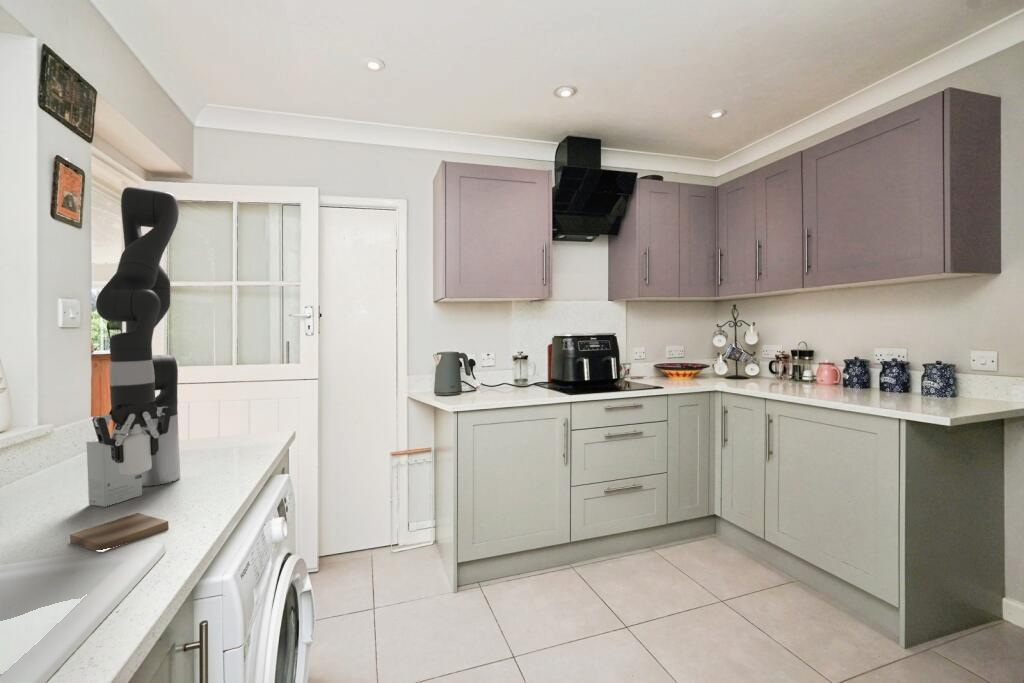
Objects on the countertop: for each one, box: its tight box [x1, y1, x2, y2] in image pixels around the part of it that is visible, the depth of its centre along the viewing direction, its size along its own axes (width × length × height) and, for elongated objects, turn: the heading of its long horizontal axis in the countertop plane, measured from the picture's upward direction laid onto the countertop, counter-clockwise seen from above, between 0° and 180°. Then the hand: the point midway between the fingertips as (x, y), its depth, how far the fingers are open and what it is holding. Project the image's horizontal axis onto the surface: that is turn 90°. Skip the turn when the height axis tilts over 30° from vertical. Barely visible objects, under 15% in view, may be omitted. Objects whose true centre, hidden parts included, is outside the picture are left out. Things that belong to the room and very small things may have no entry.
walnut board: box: [69, 512, 169, 551], centre depth 90 cm, size 11×11×2 cm
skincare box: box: [86, 434, 143, 508], centre depth 109 cm, size 8×6×15 cm
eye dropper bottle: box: [119, 424, 152, 476], centre depth 101 cm, size 4×6×12 cm
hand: (135, 458), depth 101 cm, fingers closed on eye dropper bottle, 5 cm apart
